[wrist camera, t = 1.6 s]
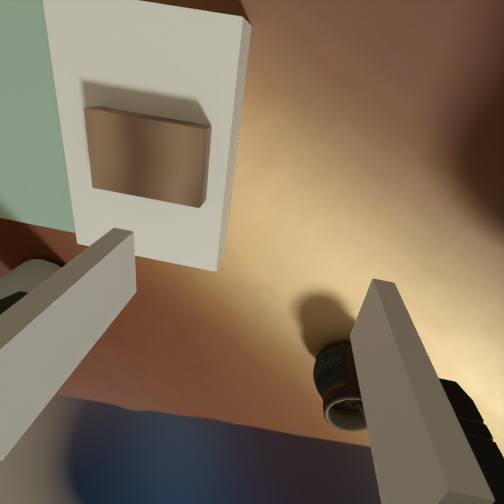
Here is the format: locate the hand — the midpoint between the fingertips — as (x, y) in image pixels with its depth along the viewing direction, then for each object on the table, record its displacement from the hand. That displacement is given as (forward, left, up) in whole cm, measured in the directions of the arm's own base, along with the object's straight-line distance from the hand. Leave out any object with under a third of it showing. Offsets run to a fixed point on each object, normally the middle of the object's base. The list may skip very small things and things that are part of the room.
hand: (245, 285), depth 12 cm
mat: (+24, 0, -19) cm, 31 cm away
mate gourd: (-12, +21, -20) cm, 31 cm away
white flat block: (+11, 0, -19) cm, 22 cm away
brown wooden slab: (+10, 0, -15) cm, 18 cm away
